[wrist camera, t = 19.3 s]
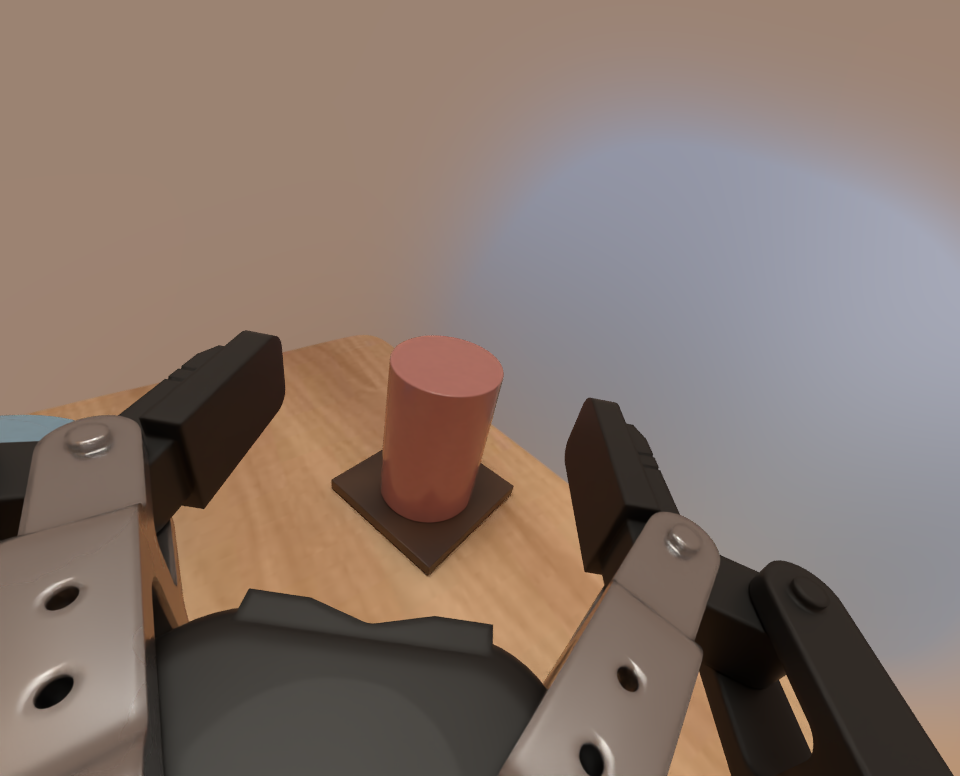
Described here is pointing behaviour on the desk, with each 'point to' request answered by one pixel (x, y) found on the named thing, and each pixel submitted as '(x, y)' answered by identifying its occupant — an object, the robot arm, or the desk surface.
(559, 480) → the desk surface
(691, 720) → the desk surface
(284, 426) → the desk surface
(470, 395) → the terracotta cylinder
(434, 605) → the desk surface
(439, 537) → the coaster
